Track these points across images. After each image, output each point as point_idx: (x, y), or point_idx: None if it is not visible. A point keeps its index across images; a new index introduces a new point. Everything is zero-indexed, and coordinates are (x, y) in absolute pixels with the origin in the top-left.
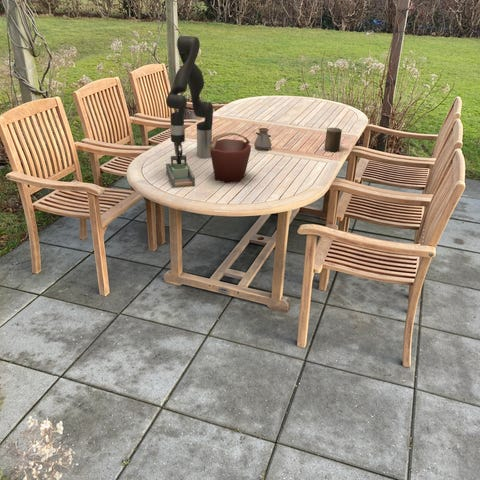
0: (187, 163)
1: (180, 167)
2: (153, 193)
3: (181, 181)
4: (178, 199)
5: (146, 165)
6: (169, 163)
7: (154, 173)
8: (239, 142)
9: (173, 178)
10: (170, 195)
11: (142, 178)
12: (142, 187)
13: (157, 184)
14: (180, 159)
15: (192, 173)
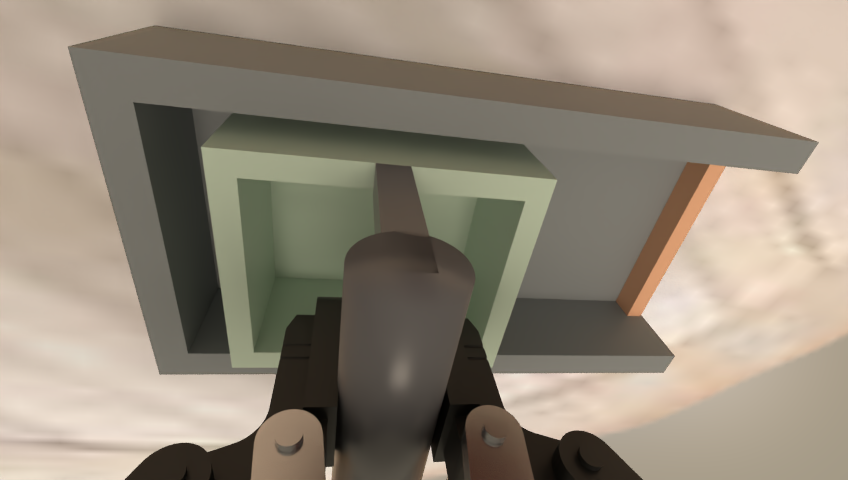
0: (157, 58)
1: (260, 196)
2: (617, 414)
3: (573, 228)
4: (818, 305)
5: None
6: (149, 337)
7: (231, 382)
8: None
9: (658, 362)
10: (721, 338)
11: None
12: None
13: None
14: (494, 388)
15: (679, 127)
